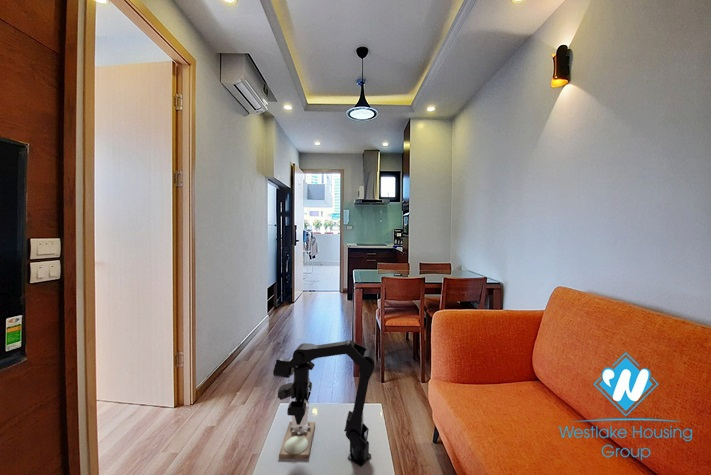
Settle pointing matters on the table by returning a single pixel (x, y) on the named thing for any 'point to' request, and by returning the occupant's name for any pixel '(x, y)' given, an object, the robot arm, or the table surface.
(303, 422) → the shot glass
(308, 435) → the gear board
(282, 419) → the table surface
